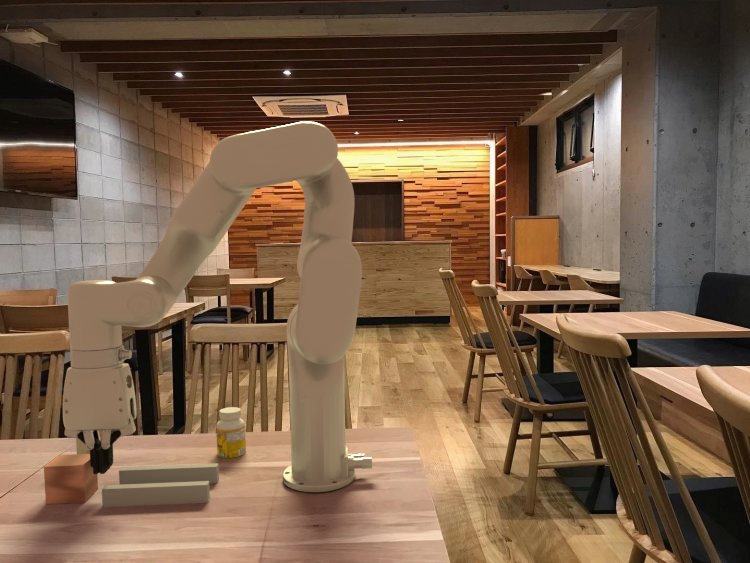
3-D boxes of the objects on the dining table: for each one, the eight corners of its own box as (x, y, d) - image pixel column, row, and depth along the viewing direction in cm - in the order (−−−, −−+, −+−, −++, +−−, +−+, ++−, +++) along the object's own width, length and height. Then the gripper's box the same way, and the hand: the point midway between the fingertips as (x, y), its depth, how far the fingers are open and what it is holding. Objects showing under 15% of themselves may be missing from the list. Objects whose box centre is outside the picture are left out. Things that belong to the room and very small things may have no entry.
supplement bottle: (248, 461, 112) (246, 411, 112) (219, 466, 110) (217, 415, 109) (243, 452, 117) (241, 404, 117) (215, 456, 115) (213, 408, 114)
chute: (220, 482, 103) (220, 459, 102) (206, 514, 91) (205, 489, 91) (78, 488, 101) (77, 465, 101) (44, 521, 89) (42, 496, 89)
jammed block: (98, 488, 98) (96, 453, 97) (85, 502, 93) (83, 465, 92) (60, 490, 98) (58, 454, 97) (45, 504, 93) (43, 466, 92)
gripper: (152, 352, 98) (156, 460, 99) (59, 354, 97) (64, 463, 98) (137, 362, 91) (142, 478, 92) (36, 364, 90) (42, 482, 91)
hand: (102, 470), depth 95 cm, fingers closed
